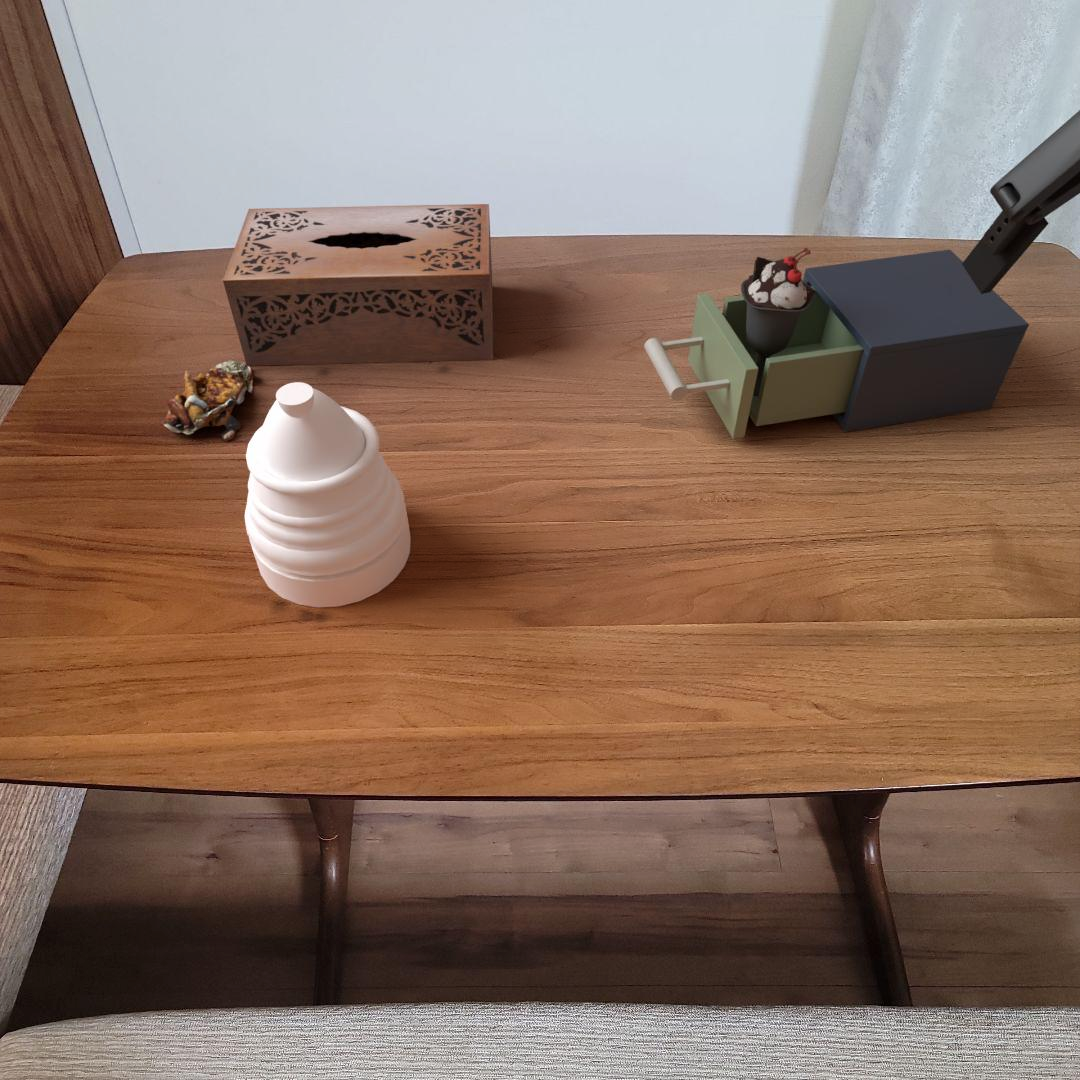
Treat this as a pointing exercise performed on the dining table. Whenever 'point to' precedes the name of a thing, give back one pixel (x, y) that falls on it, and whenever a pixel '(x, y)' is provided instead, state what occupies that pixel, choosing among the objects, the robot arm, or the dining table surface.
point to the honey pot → (323, 502)
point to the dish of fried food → (210, 399)
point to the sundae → (774, 306)
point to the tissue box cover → (363, 284)
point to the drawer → (789, 376)
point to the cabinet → (919, 337)
